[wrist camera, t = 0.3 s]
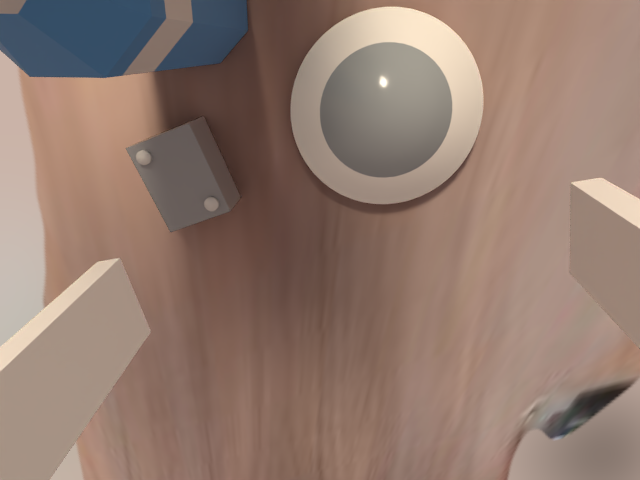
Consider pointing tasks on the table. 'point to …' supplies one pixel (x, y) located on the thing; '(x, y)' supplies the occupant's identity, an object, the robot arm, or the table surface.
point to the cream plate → (386, 105)
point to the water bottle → (118, 35)
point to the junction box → (185, 174)
